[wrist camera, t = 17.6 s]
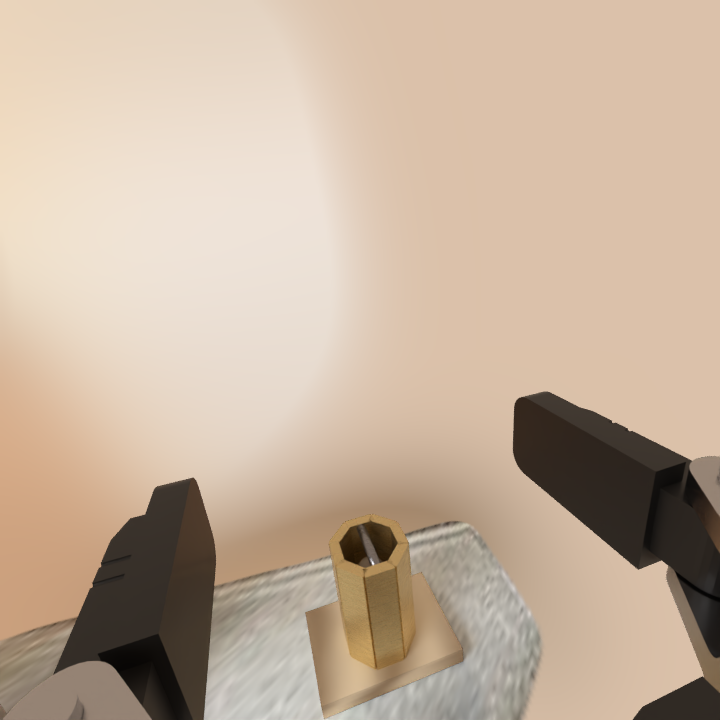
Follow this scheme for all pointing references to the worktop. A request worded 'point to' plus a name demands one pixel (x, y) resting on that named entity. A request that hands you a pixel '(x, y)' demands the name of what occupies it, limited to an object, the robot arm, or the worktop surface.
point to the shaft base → (362, 683)
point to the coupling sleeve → (374, 589)
